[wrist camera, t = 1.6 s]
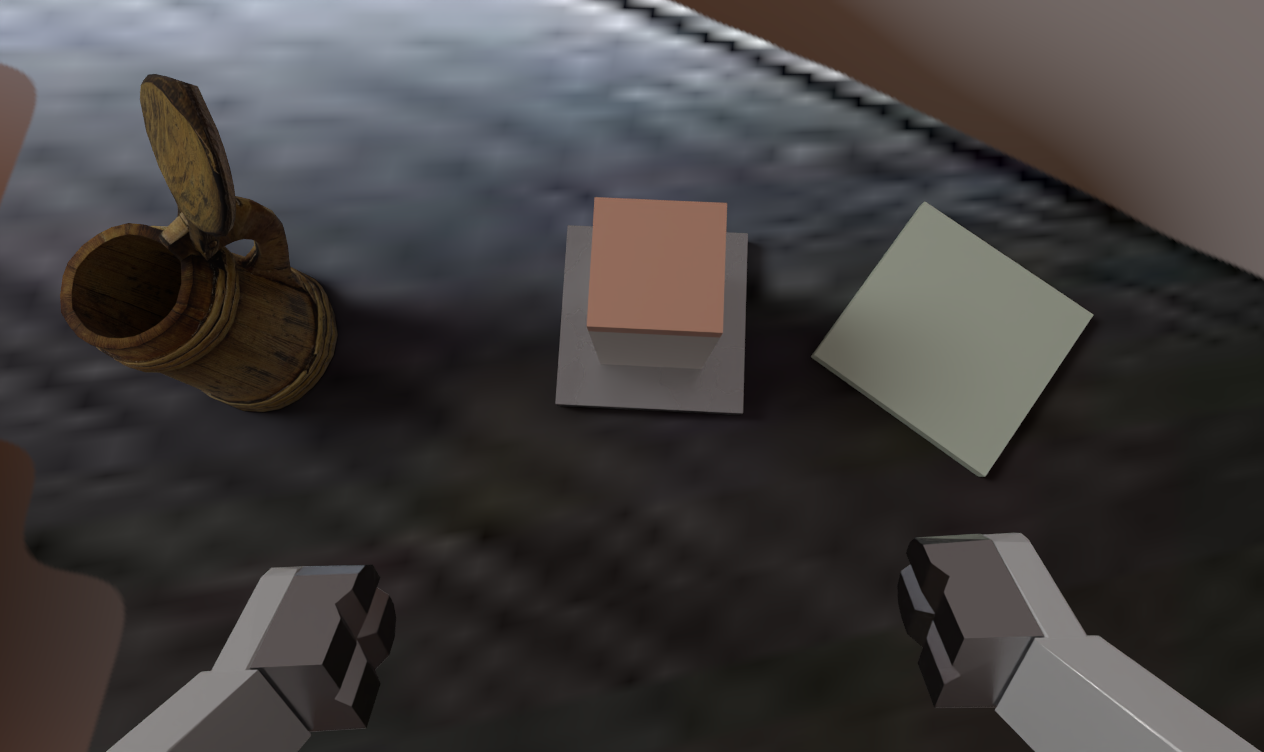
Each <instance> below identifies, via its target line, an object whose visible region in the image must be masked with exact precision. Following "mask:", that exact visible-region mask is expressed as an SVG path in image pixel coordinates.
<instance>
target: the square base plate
mask: <svg viewBox="0 0 1264 752" xmlns="http://www.w3.org/2000/svg"><path fill="white" fill-rule="evenodd" d="M592 233H593V227H591V226H569V225H568V230H567V245H566V259H565V274H564V288H563V302H562V317H561V331H560V346H559V360H558V374H557V389H556V403H555V404H556V405H557V406H567V407H587V408H607V409H627V410H647V411H667V412H687V413H706V414H726V415H741V414H743V395H744V357H745V319H746V282H747V244H748V233H726V252H725V283H724V315H723V334H722V335H721V337H720V339H719V340H718V342H717V344H716V346H715V347H714V349H713V351H712V352H711V354H710V356H709V357H708V359H707V361H706V363H705V364H704V366H703V368H702V369H690V368H670V367H649V366H629V365H608V364H600V362H599V359H598V356H597V353H596V351H595V348H594V345H593V343H592V340H591V337H590V334H589V332H588V329H587V312H588V296H589V280H590V264H591V249H592Z"/></svg>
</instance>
